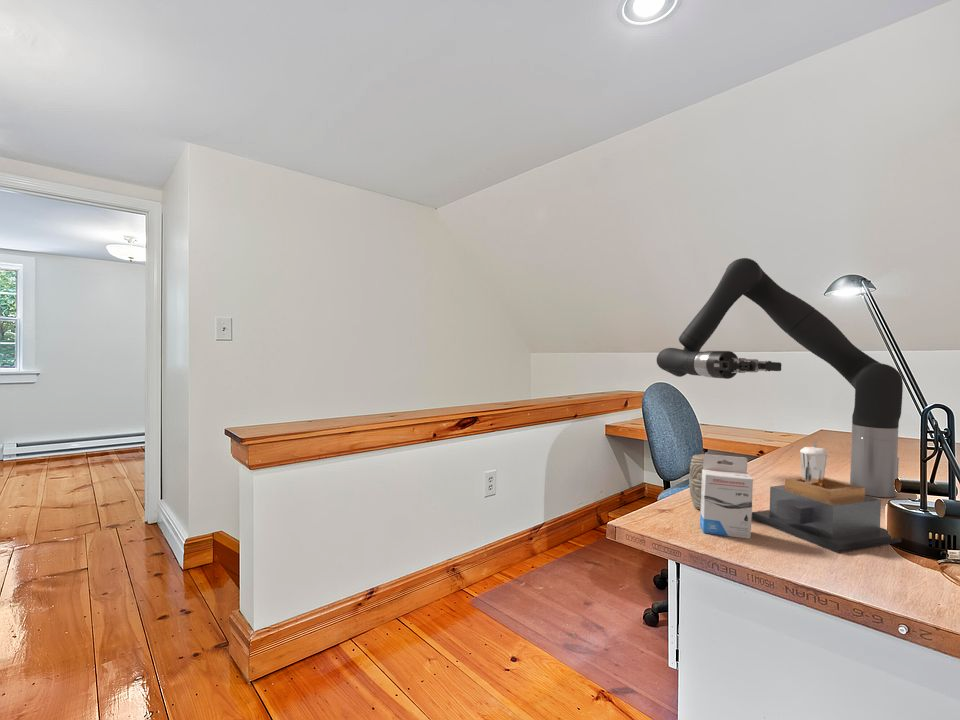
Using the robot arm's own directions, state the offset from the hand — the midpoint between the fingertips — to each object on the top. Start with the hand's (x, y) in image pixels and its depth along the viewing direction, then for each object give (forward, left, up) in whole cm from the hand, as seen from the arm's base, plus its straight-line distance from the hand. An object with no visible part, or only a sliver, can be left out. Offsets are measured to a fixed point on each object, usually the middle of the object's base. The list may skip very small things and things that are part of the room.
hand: (767, 366), depth 120 cm
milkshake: (+11, +20, -25) cm, 33 cm away
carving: (+22, +4, -32) cm, 39 cm away
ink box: (+29, +16, -32) cm, 46 cm away
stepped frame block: (+9, +21, -32) cm, 39 cm away
